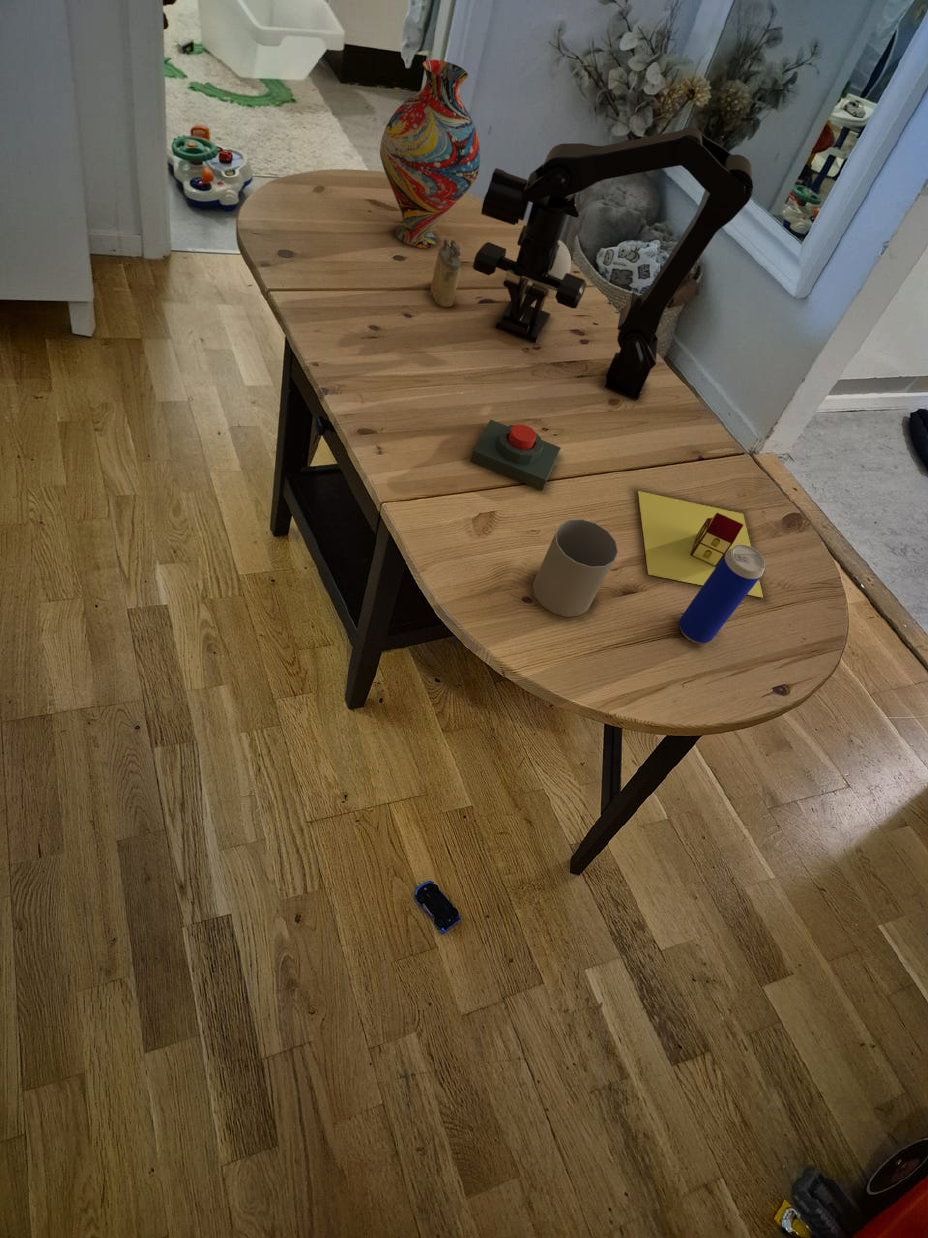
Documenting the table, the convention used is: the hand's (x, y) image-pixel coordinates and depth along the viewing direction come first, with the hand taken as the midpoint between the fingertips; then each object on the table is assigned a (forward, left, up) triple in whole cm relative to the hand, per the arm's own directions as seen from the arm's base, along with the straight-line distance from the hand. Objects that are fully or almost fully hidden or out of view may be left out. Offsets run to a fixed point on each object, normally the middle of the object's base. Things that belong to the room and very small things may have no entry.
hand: (516, 320), depth 140 cm
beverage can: (-43, +49, -6) cm, 66 cm away
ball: (+1, -25, -6) cm, 25 cm away
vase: (+28, -26, -6) cm, 38 cm away
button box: (-10, +29, -5) cm, 32 cm away
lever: (0, -5, 0) cm, 5 cm away
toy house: (-41, +31, -6) cm, 52 cm away
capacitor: (+16, -8, -6) cm, 19 cm away
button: (-10, +30, -2) cm, 31 cm away
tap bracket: (0, -10, -5) cm, 11 cm away
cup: (-24, +52, -6) cm, 58 cm away
